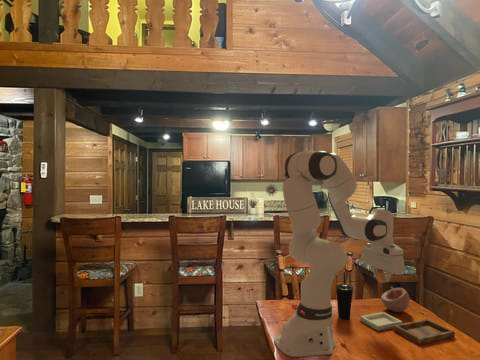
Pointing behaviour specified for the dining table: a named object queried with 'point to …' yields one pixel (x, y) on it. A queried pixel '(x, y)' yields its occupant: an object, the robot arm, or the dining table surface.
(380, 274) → the ball
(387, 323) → the tray
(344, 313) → the drinking cup
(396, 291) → the mortar and pestle
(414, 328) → the dish
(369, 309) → the dining table surface
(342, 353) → the dining table surface
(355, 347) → the dining table surface
